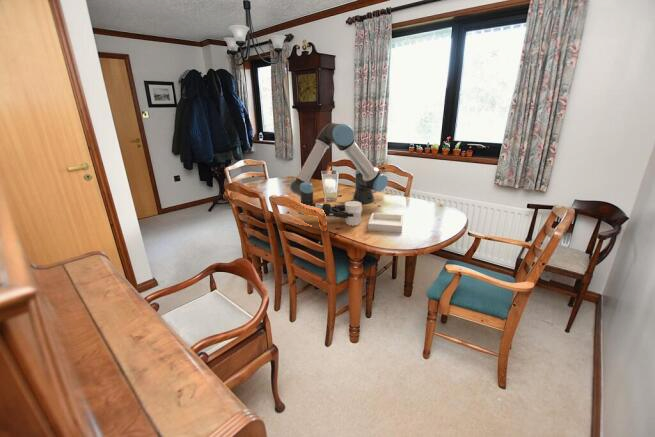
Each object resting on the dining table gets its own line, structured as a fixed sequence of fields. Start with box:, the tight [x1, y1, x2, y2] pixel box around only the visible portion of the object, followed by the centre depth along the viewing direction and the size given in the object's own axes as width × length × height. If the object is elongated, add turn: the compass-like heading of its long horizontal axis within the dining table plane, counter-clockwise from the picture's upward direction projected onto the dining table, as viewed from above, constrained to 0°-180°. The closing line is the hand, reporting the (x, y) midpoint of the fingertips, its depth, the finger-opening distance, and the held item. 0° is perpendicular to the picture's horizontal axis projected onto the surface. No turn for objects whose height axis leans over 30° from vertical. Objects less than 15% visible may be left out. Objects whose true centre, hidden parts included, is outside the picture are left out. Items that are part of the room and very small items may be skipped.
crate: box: [367, 212, 404, 234], centre depth 175 cm, size 18×18×4 cm
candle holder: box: [344, 200, 363, 227], centre depth 178 cm, size 10×10×12 cm
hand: (360, 212), depth 177 cm, fingers closed on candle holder, 9 cm apart
